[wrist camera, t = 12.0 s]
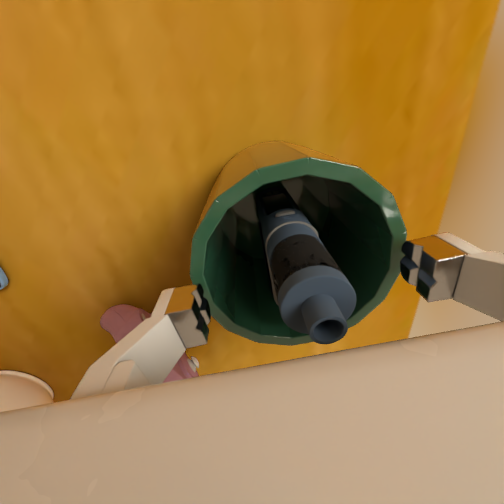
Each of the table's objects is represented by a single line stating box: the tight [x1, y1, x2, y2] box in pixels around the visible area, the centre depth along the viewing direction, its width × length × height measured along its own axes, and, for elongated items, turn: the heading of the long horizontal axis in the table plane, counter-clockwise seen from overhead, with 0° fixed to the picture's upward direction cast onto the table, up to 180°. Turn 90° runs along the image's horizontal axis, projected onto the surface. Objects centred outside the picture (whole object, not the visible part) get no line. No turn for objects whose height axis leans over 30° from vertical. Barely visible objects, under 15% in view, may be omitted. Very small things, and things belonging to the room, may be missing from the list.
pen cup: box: [189, 141, 407, 346], centre depth 14 cm, size 9×9×9 cm
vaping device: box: [256, 187, 356, 344], centre depth 12 cm, size 3×5×12 cm, turn 10°
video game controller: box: [100, 304, 199, 383], centre depth 21 cm, size 10×5×7 cm, turn 24°
